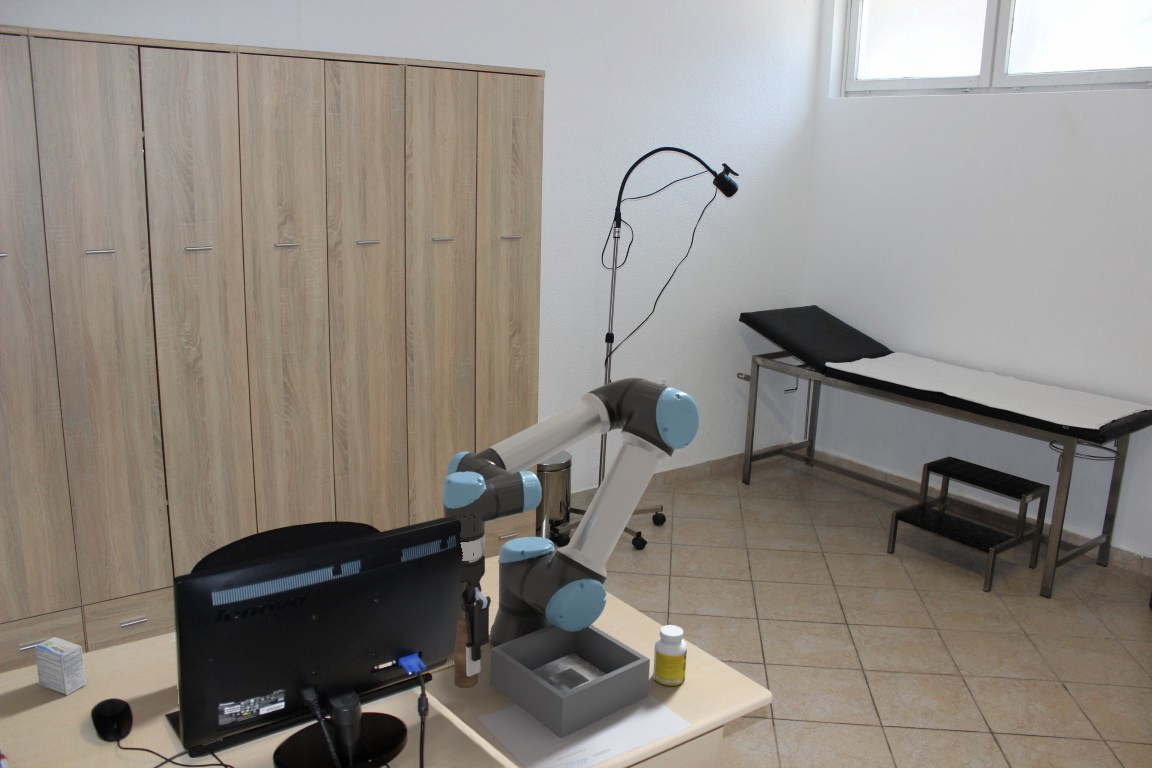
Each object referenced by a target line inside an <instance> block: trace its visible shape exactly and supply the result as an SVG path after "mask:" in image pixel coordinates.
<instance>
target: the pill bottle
mask: <svg viewBox="0 0 1152 768" xmlns="http://www.w3.org/2000/svg"><path fill="white" fill-rule="evenodd" d="M687 652H688V646H687V643H686V642H685V640H684V629H683V628H682V627H680V626H678V625H673V624H666V625H663V626H661V628H660V630H659V638H657V640H655V643H654V653H653V654H654V657H653V658H654V660H653V674H652V675H653V676H652V679H653V680H654V682H655V683H656V684H658V685H660V686H662V687H667V688H676V687H679V686H682V685H683V684H684V683H685V680H686V670H687V669H686V668H687Z"/></svg>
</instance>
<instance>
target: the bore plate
mask: <svg viewBox="0 0 1152 768" xmlns="http://www.w3.org/2000/svg"><path fill="white" fill-rule="evenodd" d="M531 671H532V672H533V673H535V674H536V675H538V676H539V677H541V678H542V679H544V680H545V681H546V682H548V683H549V684H551V685H552V686H554V687H555V688H556V689H558V690H559V691H561V692H562V693H566V692H568V691H570V690H573V689H575V688H577V687H579V686H581V685H584V684H586V683H588V682H590V681H593V680H595V679H597V678H599V677H602V676H604V675H606V673H604V672H602V671H601V670H599V669H598V668H596V667H595V666H593V665H591V664H590V663H588V662H587V661H585V660H584V659H582V658H580V657H579V656H577V655H576V654H574V653H572V654H570V655H567V656H565V657H562V658H560V659H558V660H555V661H553V662H550V663H548V664H546V665H543V666H541V667H538V668H536V669H534V670H531ZM569 679H571V680H573V681H574V682H576V683H577V684H579V686H577V687H574V688H572V689H570V690H568V691H567V690H566V689H564V688H563V687H562V686H560V685H559V684H560V683H563V682H565V681H567V680H569Z"/></svg>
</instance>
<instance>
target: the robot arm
mask: <svg viewBox="0 0 1152 768" xmlns="http://www.w3.org/2000/svg"><path fill="white" fill-rule="evenodd" d="M699 426H700V414H699V408H698V404H697V403H696V401H695V400H694V398H693V397H692V396H691V395H690V394H689V393H686V392H684V391H682V390H680V389H678V388H676V387H670V386H667V385H664V384H660V383H656V382H654V381H650V380H648V379H645V378H642V377H628V378H622V379H619V380H618V379H617V380H615V381H613V382H608V383H606V384H604V385H601V386H599V387H597V388H595V389H592V390H590V391H589V392H586V393H584V394H583V395H582V396H581V398H580V401H579V402H576V404H573V405H570V406H569V407H567V408H565V409H563V410H561V411H559V412H557V413H555V414H554V415H553V414H552V415H551V416H549V417H547V418H545V419H543V420H542V421H539V422H537V423H535V424H533V425H532V426H529V427H527V428H525V429H524V430H522V431H520V432H517V433H516V434H513V435H512V436H510V437H507V438H506V439H503V440H501V441H500V442H498V443H496V444H494V445H492V446H489V447H487V448H486V449H483V450H481V451H479V452H477V453H475V452H472V451H471V452H470V451H460V452H458V453H456V454H455V455H454V456H452V457H451V459H450V461H449V462H448V465H447V469H446V473H447V474H446V475H447V476H446V477H445V479H444V481H443V486H442V499H441V503H442V513H443V514H442V515H443V516H442V518H448V517H452V516H456V517H453V518H457V519H456V520H459V521H460V523H461V532H460V537H461V538H460V541H469V542H461V543H460V544H461V548H462V552H463V554H462V555H463V557H462V558H463V559H462V561H469V564H464V565H462V567H461V581H460V582H461V583H464V582H467V585H466V589H465V591H464V592H463V593H462V595H461V598H462V604H461V607H462V610H463V611H464V612H465V619H466V626H467V633H468V641H469V643H467V644H466V675H467V676H468V677H469V676H472V675H474V674H477V673H478V674H479V673H481V659H482V646H484V645H487V644H488V643H489V641H490V644H491V647H492V648H493V647H496V646H499V645H501V644H504V643H506V642H509V641H512V640H514V639H517V638H519V637H522V636H525V635H527V634H530V633H532V632H535V631H538V630H540V629H543V628H545V627H548V626H551V625H555V626H558V627H559V628H561V629H563V630H566V631H570V632H575V631H580V630H582V629H583V628H587V627H589V626H590V625H593V623H595V622H596V621H597V620H598V619H599V617H600V616H601V615H602V613H603V612H604V609H605V607H606V605H607V598H606V597H607V592H606V589H605V586H604V584H605V581H606V580H607V577H608V573H607V569H606V564H607V563H608V561H609V558H610V557H611V555H612V553H613V551H614V549H615V547H616V546H617V543H618V542H619V540H620V538H621V536H622V534H623V533H624V531H625V529H626V527H627V525H628V523H629V521H630V519H631V517H632V515H633V513H634V512H635V509H636V508H637V506H638V504H639V502H640V501H641V498H642V496H643V495H644V493H645V491H646V489H647V487H648V485H649V483H650V482H651V479H652V478H653V476H654V474H655V472H656V470H657V469H658V468H659V467H658V466H659V465H660V463H662V462H666V461H668V460H670V459H671V458H672V456H673V454H674V452H675V450H682V449H684V448H686V446H687V447H688V446H689V445H690V444H692V443H693V441H694V439H695V438H696V436H697V434H698V431H699ZM613 430H621V431H620V435H621V439H622V445H621V447H620V449H619V450H618V452H617V453H616V456H615V458H614V460H613V461H612V463H611V465H610V467H609V469H608V471H607V472H606V475H605V476H604V478H603V480H602V481H601V483H600V485H599V487H598V489H597V491H596V492H595V495H594V496H593V498H592V500H591V502H590V504H589V505H588V508H587V509H586V511H585V513H584V515H583V517H582V519H581V521H580V522H579V524H578V526H577V528H576V529H575V532H574V533H573V535H572V537H571V539H570V540H569V543H568V544H567V545H565V546H561V547H558V548H557V550H556V549H555V548H556V547H555V544H554V542H553V541H552V540H550V539H549V538H546V537H540V536H524V537H518V538H514V539H511V540H508V541H506V542H505V543H504V544H503V545H502V546H501V547H500V549H499V555H498V609H497V611H496V614H495V617H494V622H493V624H492V626H491V628H490V606H491V602H492V600H491V597H490V595H488V596H485V595H484V594H483V593H482V587H481V580H482V578H483V577H484V575H485V573H486V557H485V553H486V533H485V531H486V522H489V521H494V520H496V519H497V520H498V519H500V518H504V517H505V518H506V517H508V516H509V517H510V516H513V515H517V514H524V513H525V512H527V511H530V510H534V509H535V508H537V507H538V506H539V505H540V503H541V501H542V494H543V493H542V486H541V485H542V484H541V481H540V480H539V478H538V476H537V475H536V474H535V473H534V472H533V471H530V470H528V469H530V468H532V467H534V466H536V465H538V464H540V463H541V462H544V461H546V460H547V459H549V458H551V457H553V456H555V455H557V454H558V453H561V452H563V451H564V450H566V449H568V448H570V447H572V446H574V445H576V444H578V443H579V442H581V441H583V440H586V439H587V438H589V437H591V436H593V435H595V434H599V435H605V434H607V433H609V432H611V431H613ZM463 514H465V515H463ZM470 514H473V515H474V516H475V518H474V516H473V515H470ZM459 515H461V516H459ZM463 516H466V517H463ZM469 518H470V519H469ZM450 519H451V518H450ZM474 525H475V526H474ZM474 527H475V532H474ZM473 540H474V541H473ZM473 553H474V556H473ZM489 636H490V637H489ZM489 639H490V640H489ZM452 666H454V662H453V664H452Z"/></svg>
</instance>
